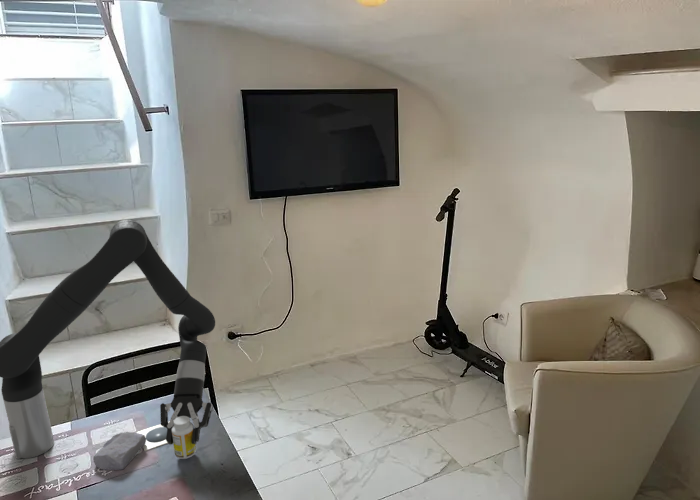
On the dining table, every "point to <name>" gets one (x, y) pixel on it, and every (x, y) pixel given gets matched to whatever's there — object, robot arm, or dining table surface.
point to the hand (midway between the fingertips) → (182, 443)
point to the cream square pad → (154, 436)
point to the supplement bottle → (183, 437)
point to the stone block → (119, 451)
